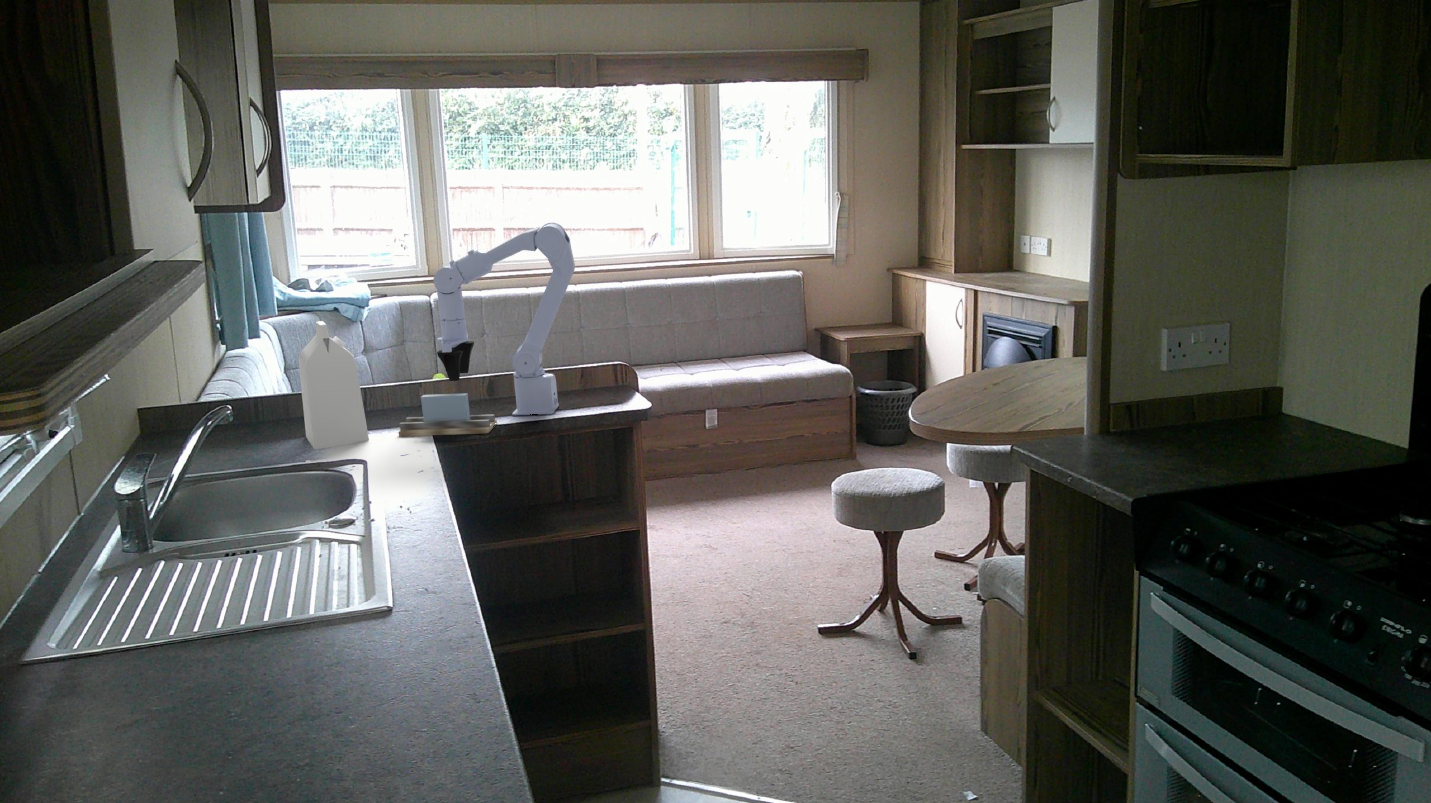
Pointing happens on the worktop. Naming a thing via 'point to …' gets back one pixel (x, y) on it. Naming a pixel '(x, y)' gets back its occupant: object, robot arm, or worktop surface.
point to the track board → (447, 426)
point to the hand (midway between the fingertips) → (459, 376)
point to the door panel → (445, 407)
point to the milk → (331, 392)
